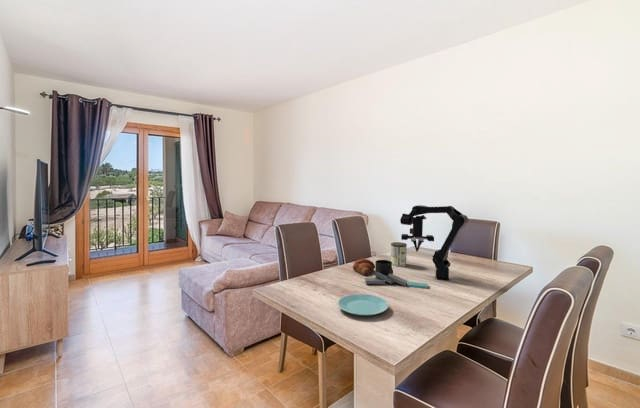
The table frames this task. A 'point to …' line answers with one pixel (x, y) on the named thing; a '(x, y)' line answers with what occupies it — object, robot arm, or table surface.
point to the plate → (363, 304)
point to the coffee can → (398, 254)
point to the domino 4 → (418, 285)
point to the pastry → (363, 266)
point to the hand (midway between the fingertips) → (416, 251)
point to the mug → (384, 267)
